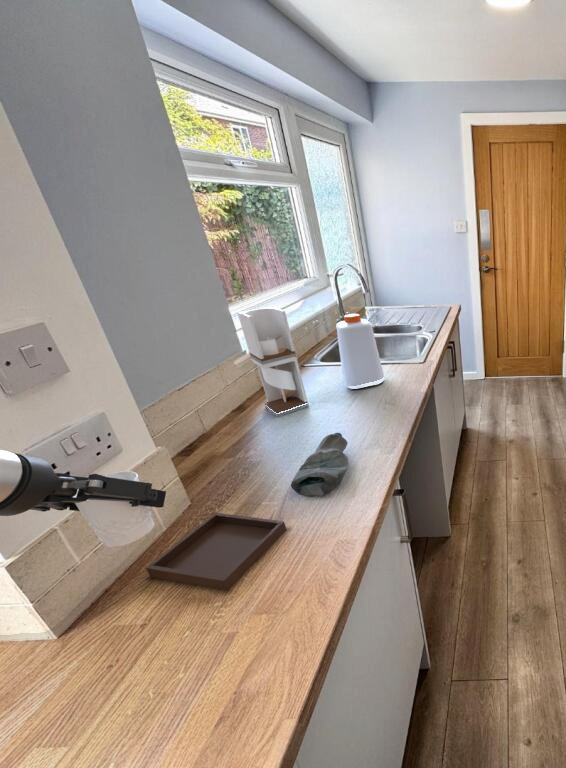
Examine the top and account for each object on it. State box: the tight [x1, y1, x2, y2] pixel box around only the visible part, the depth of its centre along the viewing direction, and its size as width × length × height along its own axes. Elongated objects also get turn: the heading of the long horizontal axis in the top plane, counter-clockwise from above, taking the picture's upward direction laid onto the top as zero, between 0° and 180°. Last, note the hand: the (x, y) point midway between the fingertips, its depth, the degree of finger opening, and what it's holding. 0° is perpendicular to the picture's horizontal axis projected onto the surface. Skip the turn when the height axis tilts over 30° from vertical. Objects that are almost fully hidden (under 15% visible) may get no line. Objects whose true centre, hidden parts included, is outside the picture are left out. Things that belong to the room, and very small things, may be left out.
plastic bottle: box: [335, 313, 385, 386], centre depth 160 cm, size 15×15×28 cm
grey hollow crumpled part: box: [290, 432, 349, 498], centre depth 107 cm, size 13×7×25 cm
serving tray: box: [145, 512, 287, 591], centre depth 82 cm, size 18×16×2 cm
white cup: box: [74, 470, 156, 548], centre depth 67 cm, size 8×8×10 cm
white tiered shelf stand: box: [237, 306, 309, 418], centre depth 139 cm, size 11×11×35 cm
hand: (135, 502), depth 70 cm, fingers closed on white cup, 8 cm apart
